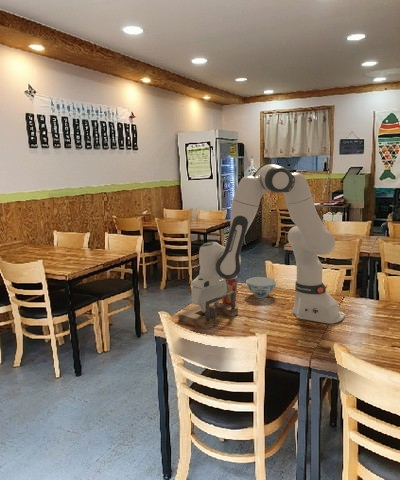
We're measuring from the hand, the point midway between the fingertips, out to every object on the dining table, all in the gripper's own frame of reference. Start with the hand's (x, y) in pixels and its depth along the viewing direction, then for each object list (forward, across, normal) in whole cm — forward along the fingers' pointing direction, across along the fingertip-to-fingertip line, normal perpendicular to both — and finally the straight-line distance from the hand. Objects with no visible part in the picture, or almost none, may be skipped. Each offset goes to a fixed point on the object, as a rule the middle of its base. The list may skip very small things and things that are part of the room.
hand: (210, 308), depth 180 cm
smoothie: (+4, -20, -5) cm, 21 cm away
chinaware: (+4, -39, +1) cm, 39 cm away
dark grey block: (+4, 0, 0) cm, 4 cm away
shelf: (+4, 0, -1) cm, 4 cm away
